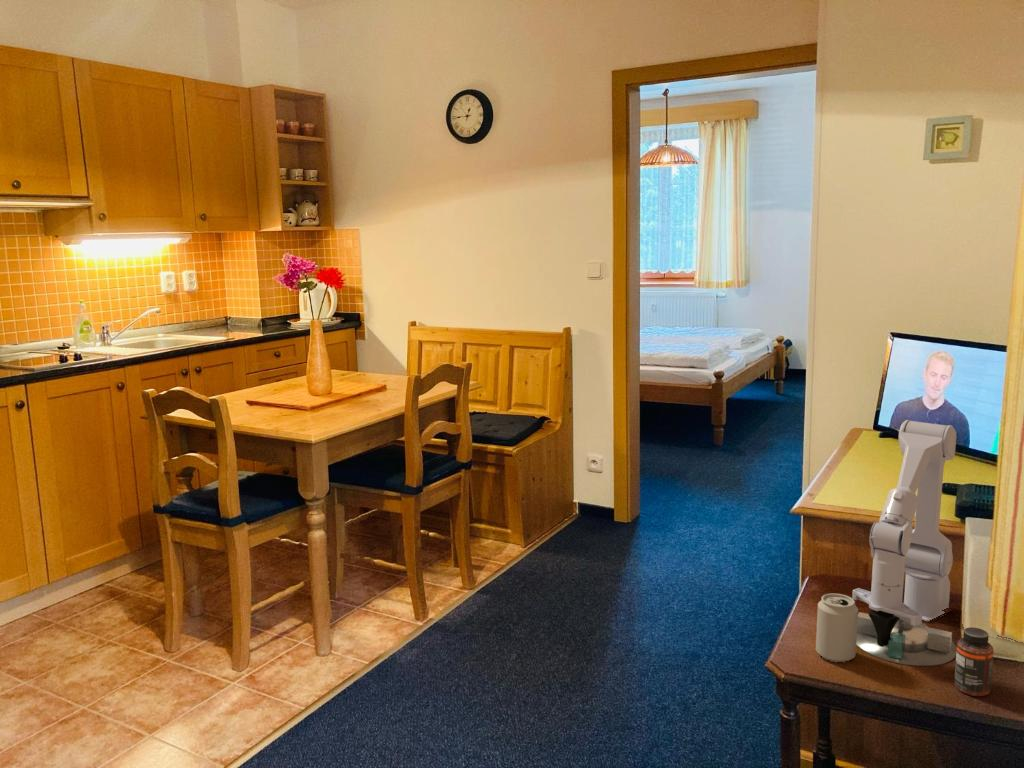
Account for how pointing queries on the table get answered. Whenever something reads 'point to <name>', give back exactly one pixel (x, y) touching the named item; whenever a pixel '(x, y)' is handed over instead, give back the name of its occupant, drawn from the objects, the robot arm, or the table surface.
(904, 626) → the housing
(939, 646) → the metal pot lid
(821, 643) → the can
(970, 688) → the supplement bottle
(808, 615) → the table surface
